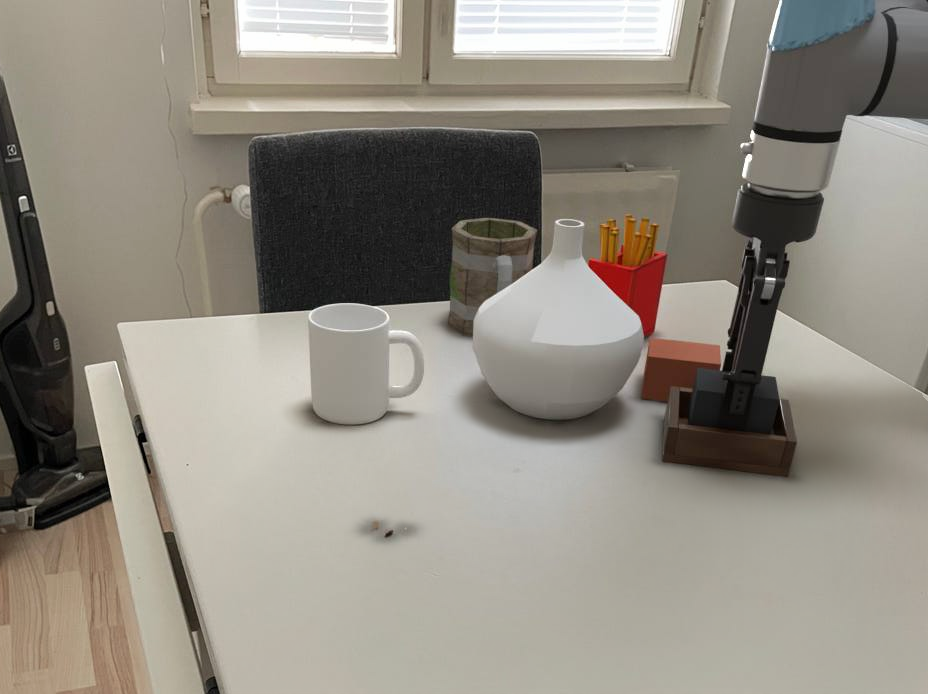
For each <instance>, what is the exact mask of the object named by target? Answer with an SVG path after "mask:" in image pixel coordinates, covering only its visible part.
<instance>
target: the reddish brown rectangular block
mask: <svg viewBox="0 0 928 694" xmlns="http://www.w3.org/2000/svg"><path fill="white" fill-rule="evenodd" d="M648 340H649V341H648V347H647V352H646V358H645V364H644V371H643V376H642V385H641V393H640V394H641V395H640V399H643V400H650V401H651V400H652V401H659V402H667V401H668V396H669V391H670V386H674V387H683V388H691V389H693V385H694V380H695V375H696V370H697V368H703V369H712V370H720V371H721V367H722V359H721V358H722V356H721V345H720V344H711V343H703V342H693V341H684V340H675V339H665V338H659V337H649V339H648Z"/></svg>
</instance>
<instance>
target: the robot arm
mask: <svg viewBox="0 0 928 694" xmlns="http://www.w3.org/2000/svg"><path fill="white" fill-rule="evenodd" d="M773 19H774V20H773V23H772V27H771V32H770V35H769V38H768V40H767V44H766V54H765V60H764V65H763V71H762V77H761V81H760V87H759V91H758V92H759V93H758V98H757V102H756V107H755V114H754V119H753V121H752V126H751V127H752V128H751V133H750V139H751V141H748V142H742V143H741V144H740V149H739V153H740V154H741V155H746V157H745V160H744V165H743V170H742V179H743V180H744V181H745V182H746V183H744V184H742V185H741V187H739V188H738V190H737V196H736V201H735V205H734V209H733V216H732V220H731V226H732V228H733V229H734V231H735V232H737V233H738V234H740V235H741V236H744V237H746V238H749V239H748V241H747V242H746V247H745V248H744V250H743V253H742V257H741V271H740V275H739V279H738V290H737V294H736V298H735V303H734V307H733V311H732V316H731V320H730V325H729V328H728V329H727V337H728V338H729V339H728V340H727V341H726V346H727V350H730V351H725V354H724V359H723V364H722V368H721V371H729V372H730V374H727V373H723V377H722V380H727V382H726V387H725V391H724V396H723V400H722V405H721V409H720V414H719V418H718V422H717V427H716V428H718V429H727V430H735V431H743V432H744V431H745V427H746V423H747V419H748V415H749V411H750V407H751V403H752V399H753V395H754V391H755V387H756V384H759V383H760V381H761V379H762V374H763V370H764V367H765V366H764V365H765V362H766V359H767V353H768V349H769V345H770V340H771V337H772V332H773V328H774V324H775V320H776V316H777V313H778V312H777V311H778V308H779V307H778V306H779V303H780V300H781V297H782V293H783V289H785V287H786V279H787V278H788V277H787V276H788V273H789V269H790V260H789V259H788V252H786V246H787V245H789V244H791V243H804V242H806V241H809V240H811V239H812V238H814V236H815V235H816V233H817V229H818V225H819V221H820V216H821V213H822V210H823V206H824V203H825V198H824V196H823V194H822V192H821V191H824V190H825V189H827V188H828V187H829V184H830V181H831V177H832V173H833V169H834V165H835V162H836V158H837V155H838V152H839V151H838V150H839V147H840V143H841V137H842V133H843V129H844V125H845V121H846V119H847V116H854V117H881V118H895V119H896V118H899V119H914V120H916V119H917V120H928V0H779V3H778V6H777V8H776V11H775V16H774V18H773Z"/></svg>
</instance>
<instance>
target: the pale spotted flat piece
mask: <svg viewBox="0 0 928 694" xmlns="http://www.w3.org/2000/svg"><path fill="white" fill-rule="evenodd" d="M378 526H379V520H376V521H373V522H372V523H371V524H370V531H377V529H378ZM403 531H404V532H405V531H407V527H404V529H403ZM393 532H394V530H393V529H391V530H388V531H387V532H385V535H384V537H386V536H387V535H389V534H393Z"/></svg>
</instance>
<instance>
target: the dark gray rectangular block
mask: <svg viewBox="0 0 928 694" xmlns="http://www.w3.org/2000/svg"><path fill="white" fill-rule="evenodd" d="M723 373H727V374H730V372H729V371H722V370H721V369H720V370H712V369H703V368H697V370H696V375H695V380H694V385H693V390H692V395H691V400H690V404H689V409H688V425H693V426H702V427H710V428H716V427H717V422H718V418H719V414H720V409H721V405H722V400H723V396H724V391H725V387H726V382H727V380H722V377H723ZM780 399H781V398H780V394H779V389H778V381H777V377H776V376H771V375H762V379H761V381H760V383H759V384H756V387H755V391H754V395H753V399H752V403H751V407H750V411H749V415H748V419H747V423H746V427H745V431H744V432H751V433H760V434H768V435H771V431H772V427H773V424H774V420H775V416H776V412H777V408H778V405H779V401H780Z"/></svg>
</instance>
